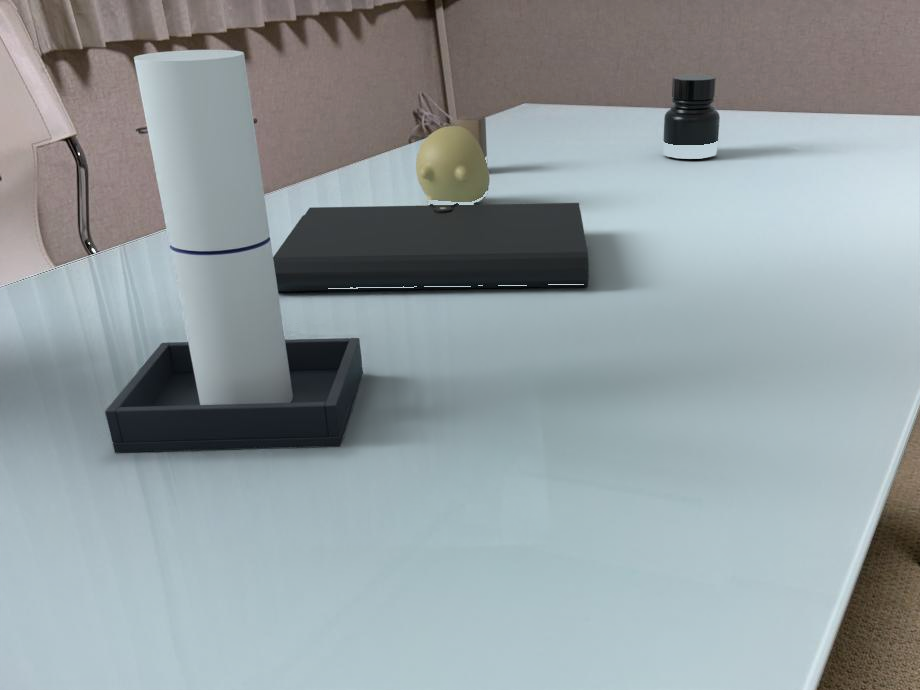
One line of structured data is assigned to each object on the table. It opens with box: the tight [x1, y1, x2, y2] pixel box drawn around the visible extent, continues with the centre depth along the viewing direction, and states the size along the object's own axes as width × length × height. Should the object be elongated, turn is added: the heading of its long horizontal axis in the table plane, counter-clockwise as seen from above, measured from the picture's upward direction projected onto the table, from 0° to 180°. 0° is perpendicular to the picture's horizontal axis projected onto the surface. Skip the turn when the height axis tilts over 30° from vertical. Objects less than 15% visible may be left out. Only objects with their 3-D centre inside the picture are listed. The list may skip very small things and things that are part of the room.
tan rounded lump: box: [415, 125, 491, 202], centre depth 141 cm, size 10×12×11 cm
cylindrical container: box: [133, 49, 293, 405], centre depth 77 cm, size 7×7×25 cm
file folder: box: [273, 202, 590, 293], centre depth 119 cm, size 33×4×24 cm
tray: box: [104, 337, 364, 453], centre depth 83 cm, size 17×15×3 cm
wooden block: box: [454, 115, 488, 157], centre depth 163 cm, size 4×4×8 cm
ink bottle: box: [662, 74, 721, 145], centre depth 170 cm, size 10×9×12 cm
